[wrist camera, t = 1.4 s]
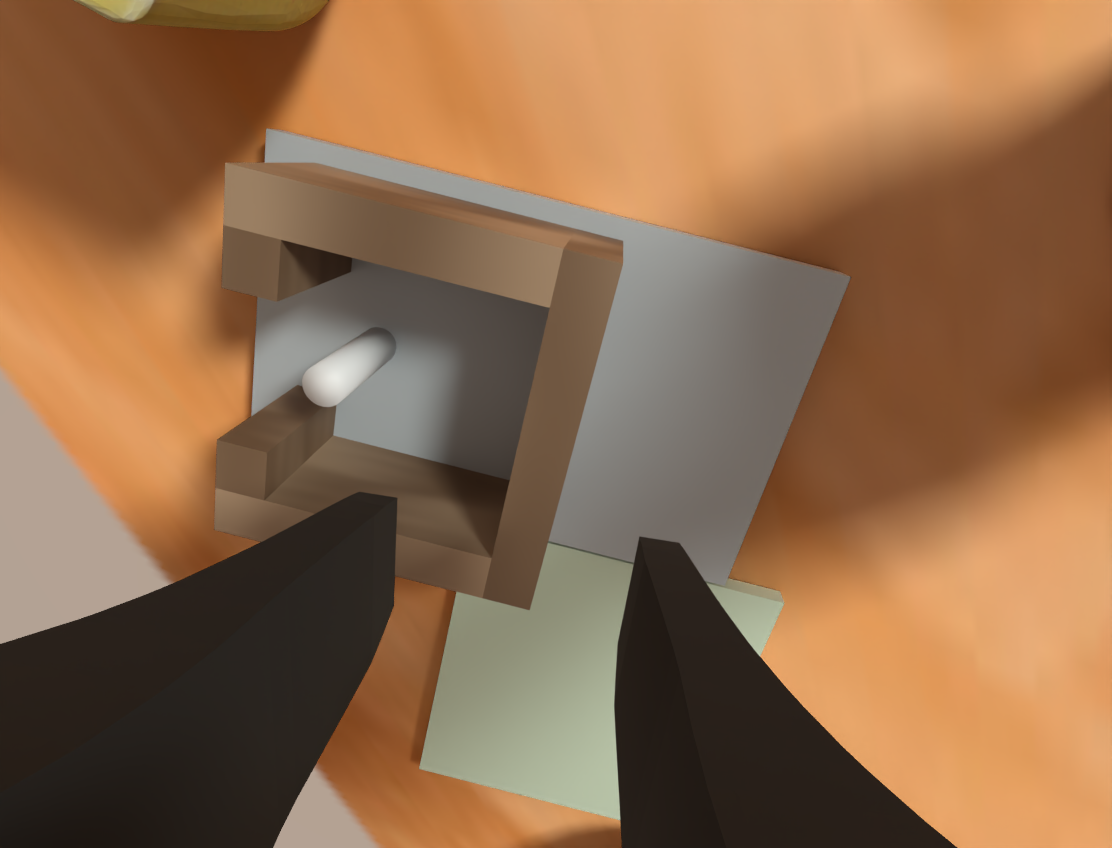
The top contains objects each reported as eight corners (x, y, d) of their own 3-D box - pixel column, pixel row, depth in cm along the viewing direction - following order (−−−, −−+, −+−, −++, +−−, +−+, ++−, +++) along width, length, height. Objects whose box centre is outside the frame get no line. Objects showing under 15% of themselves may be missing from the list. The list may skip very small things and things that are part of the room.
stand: (841, 272, 17) (910, 306, 13) (721, 570, 21) (745, 671, 16) (281, 129, 17) (173, 119, 13) (262, 453, 21) (173, 525, 17)
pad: (780, 591, 21) (784, 603, 20) (676, 819, 25) (678, 834, 24) (475, 513, 21) (471, 523, 20) (423, 755, 25) (419, 768, 24)
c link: (623, 240, 16) (623, 263, 13) (547, 526, 20) (529, 610, 16) (315, 162, 16) (225, 162, 13) (290, 461, 20) (214, 529, 16)
